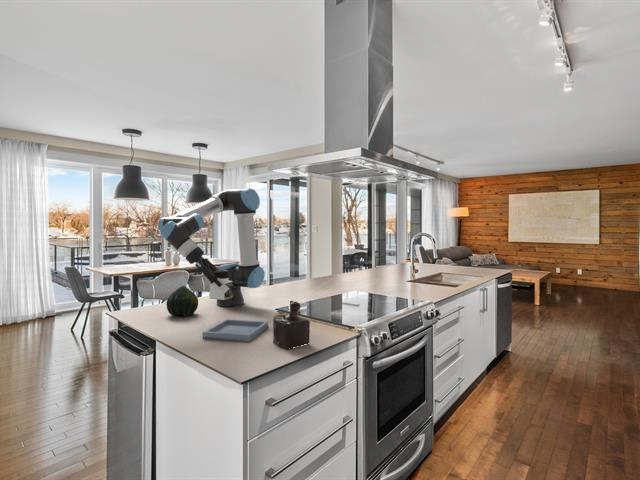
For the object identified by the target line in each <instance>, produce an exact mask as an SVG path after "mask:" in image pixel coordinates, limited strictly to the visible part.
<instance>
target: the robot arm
mask: <svg viewBox="0 0 640 480" xmlns="http://www.w3.org/2000/svg"><path fill="white" fill-rule="evenodd" d="M260 204H261V201H260V196H259V193H257V191H256V190H255V189H253V188H248V187H247V188H246V187H243V188H230V189H225V190H222V191H221V192H217V193H216V194H214V195H210V197H209V198H208V199H207V200H205V201H202V202H200V203H198V204H196V205H194V206H191V207H189V208H187V209H185V210H182V211H180V212H178V213H176V214H173V215H171V216H165V217H161V218H159V219H158V221H157V228H158V230H159V234H160V235H161V237H163V238H164V240H165V241H167V243H169V244H170V245H171V246H172V247H173V248H174V249H175V250H176V251H177V252H178V255H179V256H180V255H181V256H182V257H183V258H185V261H187V262H188V263H189V264H191V265H193V264H194V263H195V264H194V267H196V268H197V269H199V271H200V272H201V273H202V275H204V276H205V278H206V279H207V280H208V281H209V284H210V283H211V284H212V283H213V282H214V284H215V285H216V286H217V287H218V288H219V289H220V290H221V291H222V292H223V293H224V294H225V293H226V292H227V291H228V290H229V288H228V287H227V286H226V285H225V284H224V283H223V282H222V281H221V280H220V279H219V278H218V279H217V277H216V276H215V274H214V272H215V271H217V270H227V271H228V272H229V280H228V281H232V297H230V298H228V299H225V300H220V299H216V306H218V307H223V308H227V307H228V308H230V307H238V306H242V305H244V304H245V298H244V295H243V293H242V288H247V289H248V288H249V289H256V288H259V287H260V286H261V285H263V282H264V281H265V274H266V273H265V270H264V268H263V267H261V266H260V262H259V261H258V260H257V250H256V237H255V236H256V235H255V234H256V233H255V223H254V217H255V215H256V214H257V213H256V212H257V210H258V209H259V206H260ZM224 211H225V212H227V211H228V212H229V211H233V214H234V215H233V216H235V217H236V218H237V233H238V248H239V258H240V259H239V260H240V261H239V262H235V263H226V264H221V265H220V266H219V268H217V266H216V265H215V264H213V263H212V262H211V261H210V260H209V259H208V258H206V257H205V258H204V257H203V255H204V254H205V251H204V250H203V249H202V248H201V247H200V246H198V244H197V243H196V242H195V241H194V240H193V239H192V238H191V236H193V235H194V234H195V233H197V232H199V231H201V230H202V229H203V228H204V226H205V220H204V219H205V218H207V217H209V216H211V215H213V214H219V213H221V212H224Z"/></svg>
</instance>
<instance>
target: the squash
mask: <svg viewBox="0 0 640 480" xmlns="http://www.w3.org/2000/svg"><path fill="white" fill-rule="evenodd" d="M165 305H166V309H167V312H168V313H169V314H170V316H173V317H174V316H175V317H177V316H181V315H182V316H183V317H185V318H186V317H188V316H191V315H194V313H196V310H198V307H199V299H198V297H197V295H196V293H194V292H193V291H192V290H191V289H189V288H188V287H187V286H185V285H182V286H179V287H178V288H176V289H175V290H173V292H172V293H171V294H170V295H169V296H168V298H167V300H166V304H165Z"/></svg>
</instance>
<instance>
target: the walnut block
mask: <svg viewBox="0 0 640 480" xmlns="http://www.w3.org/2000/svg"><path fill="white" fill-rule="evenodd" d="M287 314H288V313H275V314H274V315H273V317H272V318H273V319H275V318H281V317H283V315H284V316H285V315H287ZM273 319H272V320H273Z"/></svg>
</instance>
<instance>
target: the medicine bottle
mask: <svg viewBox="0 0 640 480" xmlns="http://www.w3.org/2000/svg"><path fill="white" fill-rule="evenodd" d="M214 274H215V276H216V277H217V279H218V278H219V279H220V280H221V281H222V282H223V283H224V284H225V285H226V286H227V287H228V288H229V290H228V291H227V292H226V293H225V294H224V293H223V292H222V291H221V290H220V289H219V288H218V287H217V286H216V285H215V284H214V282H213V283H212V284H211V283H210V282H209V299H210V300H217V299H220V300H225V299H228V298H230V297H232V281H228V280H229V272H228V271H227V270H220V269H219V270H217V271H215V272H214Z"/></svg>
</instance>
